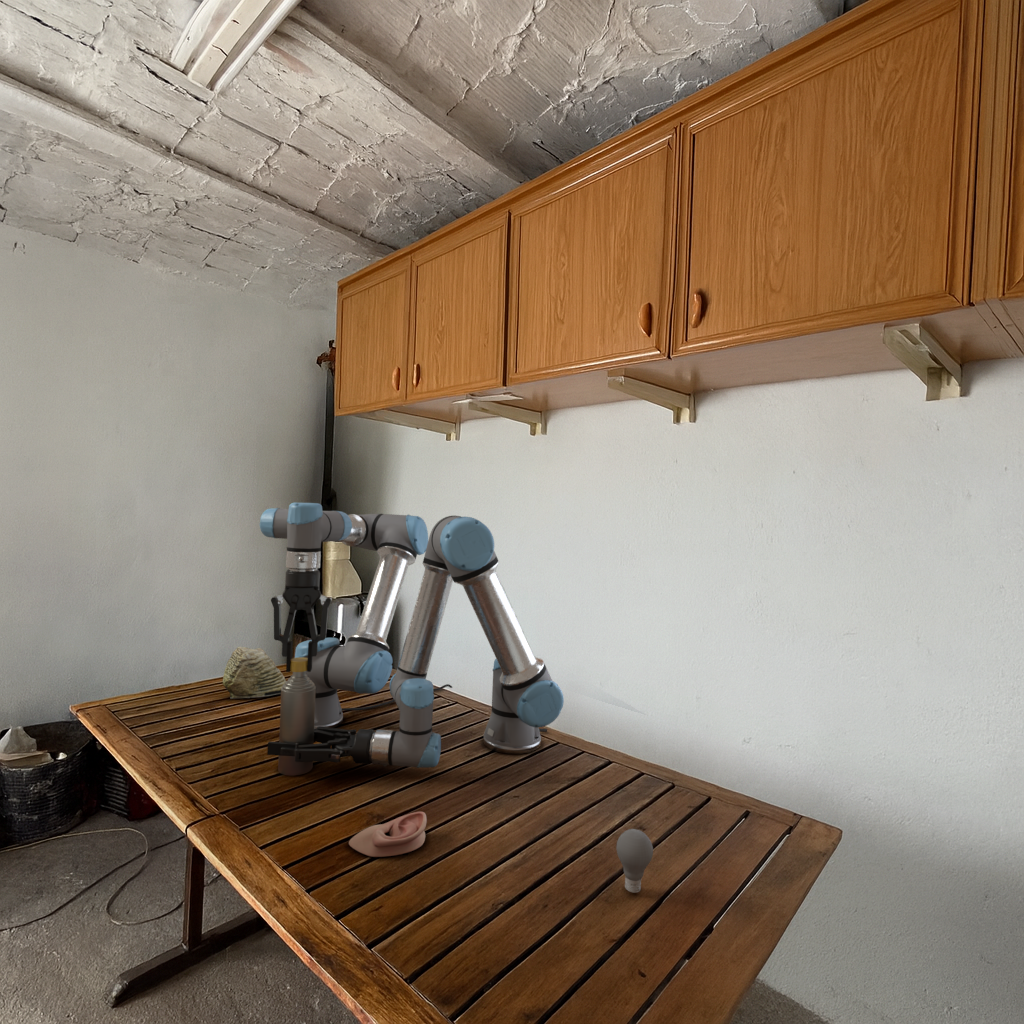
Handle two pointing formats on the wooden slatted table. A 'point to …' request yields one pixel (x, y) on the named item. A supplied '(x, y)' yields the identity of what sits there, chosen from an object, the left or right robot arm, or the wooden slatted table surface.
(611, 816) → the wooden slatted table surface
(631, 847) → the light bulb
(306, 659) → the cap
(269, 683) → the fossil
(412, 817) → the anatomical model
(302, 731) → the bottle
